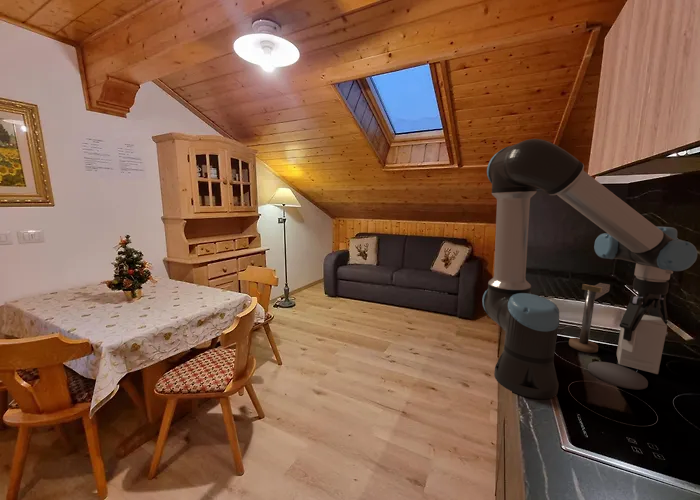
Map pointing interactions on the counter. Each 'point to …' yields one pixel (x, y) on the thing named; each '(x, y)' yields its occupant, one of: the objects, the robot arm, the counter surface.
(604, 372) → the coaster
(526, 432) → the counter surface
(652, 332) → the supplement box
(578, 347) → the disc
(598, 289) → the swing latch
